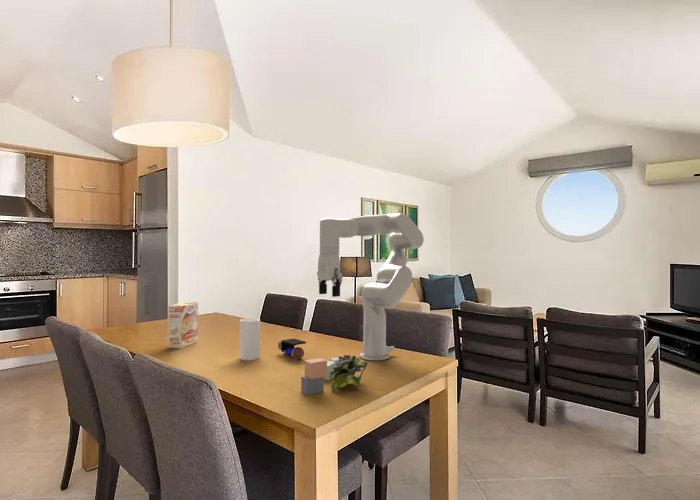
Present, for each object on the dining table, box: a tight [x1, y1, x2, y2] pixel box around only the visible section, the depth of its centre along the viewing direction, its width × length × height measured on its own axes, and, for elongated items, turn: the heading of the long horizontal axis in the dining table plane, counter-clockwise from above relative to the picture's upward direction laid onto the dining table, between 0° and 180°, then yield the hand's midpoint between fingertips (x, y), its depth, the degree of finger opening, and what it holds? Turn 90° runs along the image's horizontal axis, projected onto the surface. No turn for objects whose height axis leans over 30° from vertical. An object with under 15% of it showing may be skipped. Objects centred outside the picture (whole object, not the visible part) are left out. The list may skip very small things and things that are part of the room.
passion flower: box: [329, 354, 368, 391], centre depth 142 cm, size 13×12×14 cm
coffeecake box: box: [167, 301, 199, 349], centre depth 201 cm, size 15×7×20 cm, turn 171°
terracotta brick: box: [304, 357, 328, 379], centre depth 138 cm, size 6×4×5 cm, turn 124°
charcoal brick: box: [300, 375, 325, 396], centre depth 137 cm, size 6×4×5 cm, turn 123°
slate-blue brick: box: [329, 356, 342, 364], centre depth 159 cm, size 6×4×5 cm, turn 104°
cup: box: [239, 317, 261, 361], centre depth 178 cm, size 8×8×16 cm
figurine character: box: [277, 338, 307, 360], centre depth 181 cm, size 7×8×15 cm
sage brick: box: [324, 360, 336, 381], centre depth 153 cm, size 6×4×5 cm, turn 158°
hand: (329, 295), depth 163 cm, fingers open, 9 cm apart
